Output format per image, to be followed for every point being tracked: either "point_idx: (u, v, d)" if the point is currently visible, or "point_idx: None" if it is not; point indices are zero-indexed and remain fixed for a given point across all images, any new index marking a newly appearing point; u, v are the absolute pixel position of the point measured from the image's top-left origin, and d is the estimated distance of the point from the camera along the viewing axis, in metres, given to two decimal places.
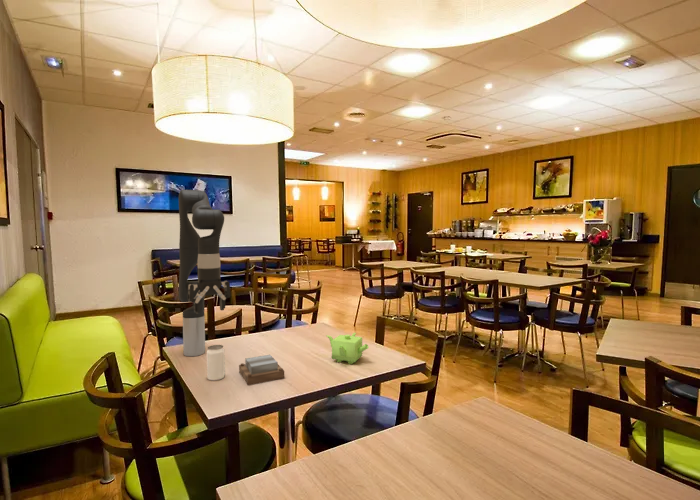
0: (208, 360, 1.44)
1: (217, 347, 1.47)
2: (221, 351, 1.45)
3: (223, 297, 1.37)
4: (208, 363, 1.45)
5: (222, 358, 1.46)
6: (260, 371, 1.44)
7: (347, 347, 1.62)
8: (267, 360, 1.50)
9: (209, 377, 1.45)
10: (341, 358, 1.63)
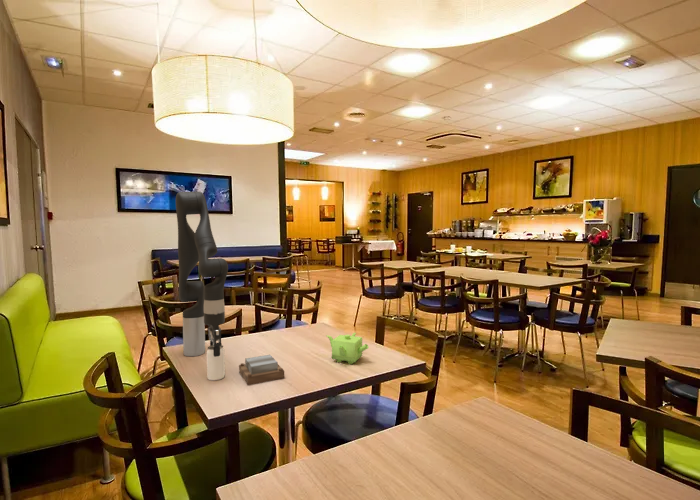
0: (208, 360, 1.44)
1: None
2: (221, 351, 1.45)
3: None
4: (208, 363, 1.45)
5: (222, 358, 1.46)
6: (260, 371, 1.44)
7: (347, 347, 1.62)
8: (267, 360, 1.50)
9: (209, 377, 1.45)
10: (341, 358, 1.63)
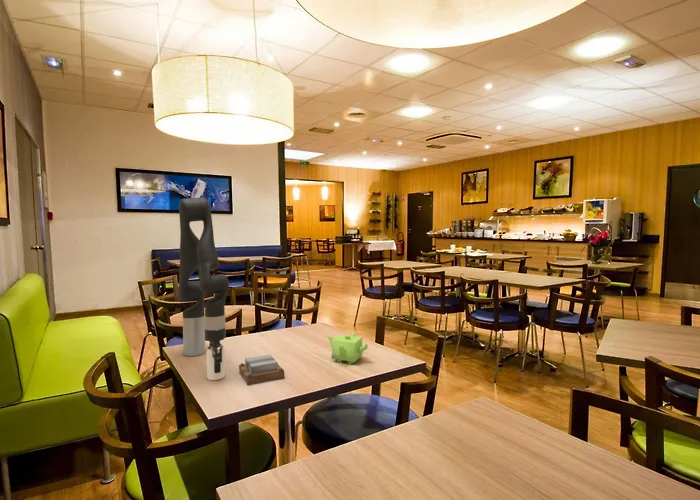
0: (208, 360, 1.44)
1: None
2: None
3: None
4: (207, 363, 1.45)
5: (222, 358, 1.46)
6: (260, 371, 1.44)
7: (347, 347, 1.62)
8: (267, 360, 1.50)
9: (209, 377, 1.45)
10: (341, 358, 1.63)
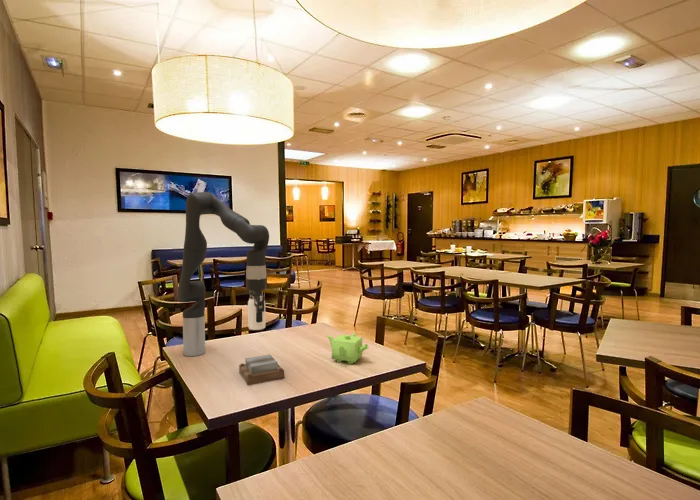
0: (250, 310, 1.45)
1: None
2: None
3: None
4: (249, 313, 1.45)
5: None
6: (260, 371, 1.44)
7: (347, 347, 1.62)
8: (267, 360, 1.50)
9: (251, 327, 1.45)
10: (341, 358, 1.63)
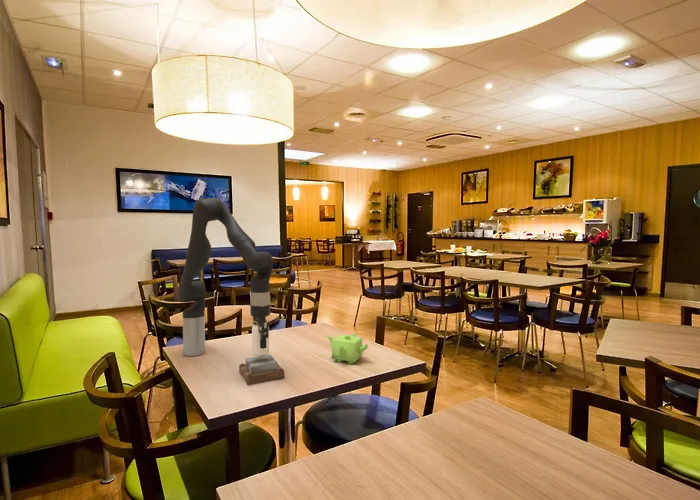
0: (254, 336, 1.46)
1: None
2: None
3: None
4: (253, 338, 1.46)
5: None
6: (260, 371, 1.44)
7: (347, 347, 1.62)
8: (267, 360, 1.50)
9: (255, 352, 1.46)
10: (341, 358, 1.63)
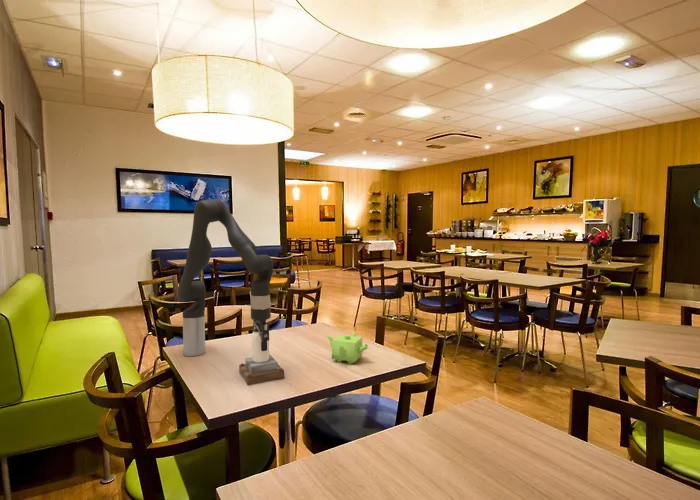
0: (254, 343, 1.46)
1: None
2: None
3: None
4: (253, 345, 1.47)
5: (267, 341, 1.48)
6: (260, 371, 1.44)
7: (347, 347, 1.62)
8: None
9: (255, 359, 1.47)
10: (341, 358, 1.63)
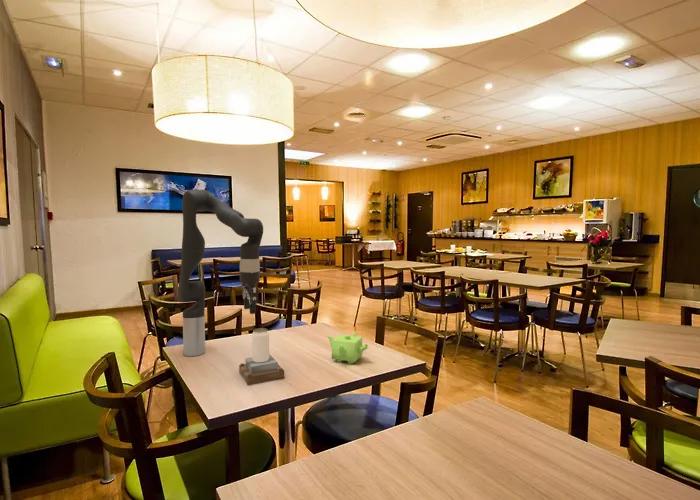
0: (254, 343, 1.46)
1: (262, 330, 1.49)
2: (266, 334, 1.47)
3: None
4: (253, 345, 1.47)
5: (267, 341, 1.48)
6: (260, 371, 1.44)
7: (347, 347, 1.62)
8: None
9: (255, 359, 1.47)
10: (341, 358, 1.63)
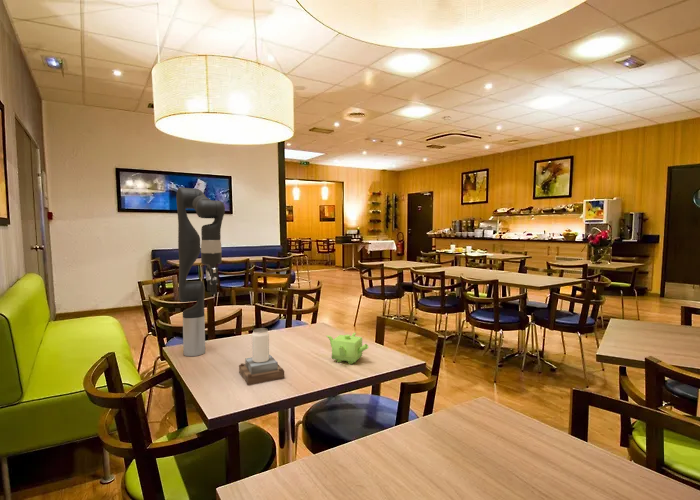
0: (254, 343, 1.46)
1: (262, 330, 1.49)
2: (266, 334, 1.47)
3: None
4: (253, 345, 1.47)
5: (267, 341, 1.48)
6: (260, 371, 1.44)
7: (347, 347, 1.62)
8: None
9: (255, 359, 1.47)
10: (341, 358, 1.63)
